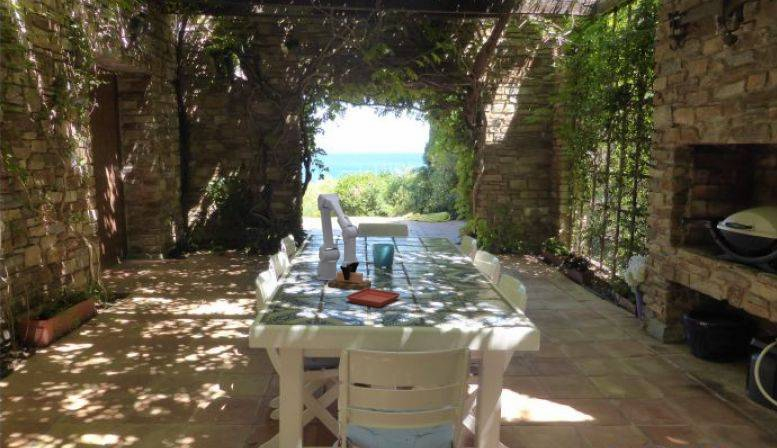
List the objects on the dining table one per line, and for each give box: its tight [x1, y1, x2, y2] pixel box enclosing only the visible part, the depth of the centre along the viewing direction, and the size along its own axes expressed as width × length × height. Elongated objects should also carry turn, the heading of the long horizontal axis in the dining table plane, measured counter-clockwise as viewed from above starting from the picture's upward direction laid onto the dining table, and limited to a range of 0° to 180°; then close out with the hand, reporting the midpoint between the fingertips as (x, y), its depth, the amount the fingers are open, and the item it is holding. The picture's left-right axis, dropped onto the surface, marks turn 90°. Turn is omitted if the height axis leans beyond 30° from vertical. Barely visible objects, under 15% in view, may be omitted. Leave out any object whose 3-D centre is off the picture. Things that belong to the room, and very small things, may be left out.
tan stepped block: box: [337, 270, 364, 284], centre depth 269 cm, size 12×4×7 cm, turn 72°
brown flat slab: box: [327, 278, 372, 291], centre depth 269 cm, size 19×9×2 cm, turn 72°
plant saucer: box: [345, 288, 401, 308], centre depth 245 cm, size 18×18×3 cm
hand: (349, 278), depth 269 cm, fingers open, 7 cm apart
